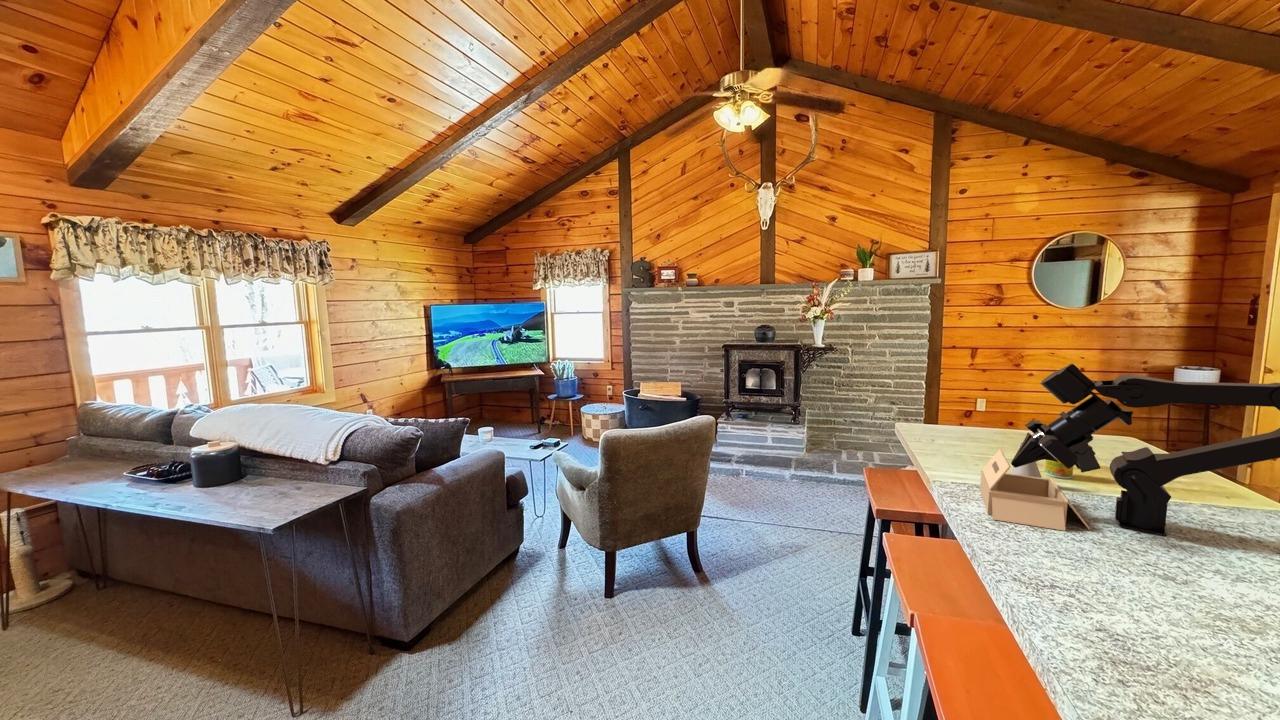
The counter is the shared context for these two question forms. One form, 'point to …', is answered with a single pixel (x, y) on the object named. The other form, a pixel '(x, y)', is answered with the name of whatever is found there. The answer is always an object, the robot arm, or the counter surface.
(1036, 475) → the flask
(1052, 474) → the supplement bottle
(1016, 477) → the carton
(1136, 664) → the counter surface
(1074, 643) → the counter surface
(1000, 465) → the far flap
